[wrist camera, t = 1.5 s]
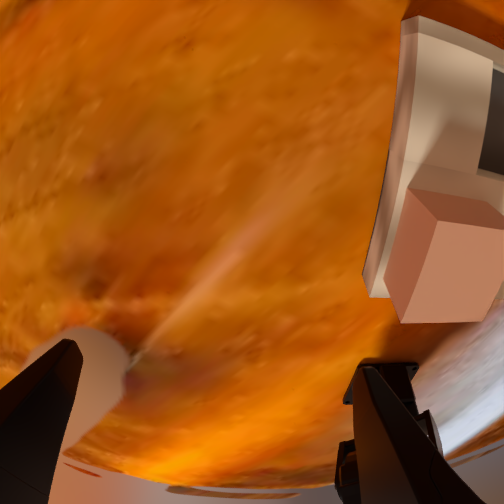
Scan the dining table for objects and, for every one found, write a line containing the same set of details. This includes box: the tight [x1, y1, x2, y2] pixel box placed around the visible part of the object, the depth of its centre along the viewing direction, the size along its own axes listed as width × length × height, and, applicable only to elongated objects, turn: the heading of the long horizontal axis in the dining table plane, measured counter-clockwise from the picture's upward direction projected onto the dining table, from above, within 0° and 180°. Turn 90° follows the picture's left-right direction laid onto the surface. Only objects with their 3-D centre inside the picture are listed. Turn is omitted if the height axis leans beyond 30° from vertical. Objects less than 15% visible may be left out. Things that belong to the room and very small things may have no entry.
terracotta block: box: [383, 188, 504, 323], centre depth 15 cm, size 6×6×4 cm
